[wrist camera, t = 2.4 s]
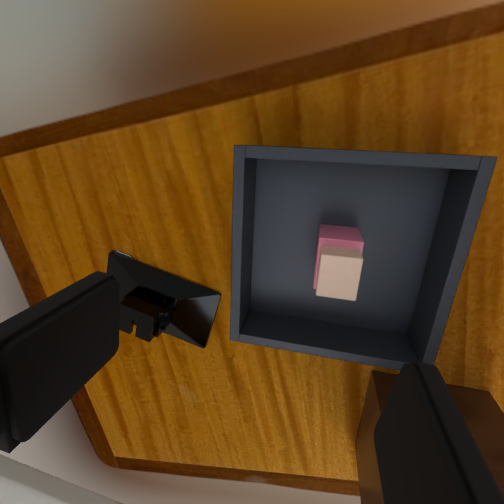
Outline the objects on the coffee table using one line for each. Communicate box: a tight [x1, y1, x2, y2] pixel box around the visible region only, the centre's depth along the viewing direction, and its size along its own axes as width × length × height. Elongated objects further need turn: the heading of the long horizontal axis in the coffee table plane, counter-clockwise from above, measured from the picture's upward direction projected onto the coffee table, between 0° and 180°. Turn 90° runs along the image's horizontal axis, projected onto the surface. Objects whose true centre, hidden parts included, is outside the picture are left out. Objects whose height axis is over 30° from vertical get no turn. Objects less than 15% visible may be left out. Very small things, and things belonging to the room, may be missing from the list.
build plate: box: [107, 251, 221, 348], centre depth 29 cm, size 12×7×5 cm, turn 73°
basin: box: [230, 145, 497, 371], centre depth 23 cm, size 16×16×5 cm
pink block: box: [313, 224, 364, 301], centre depth 22 cm, size 3×4×6 cm
